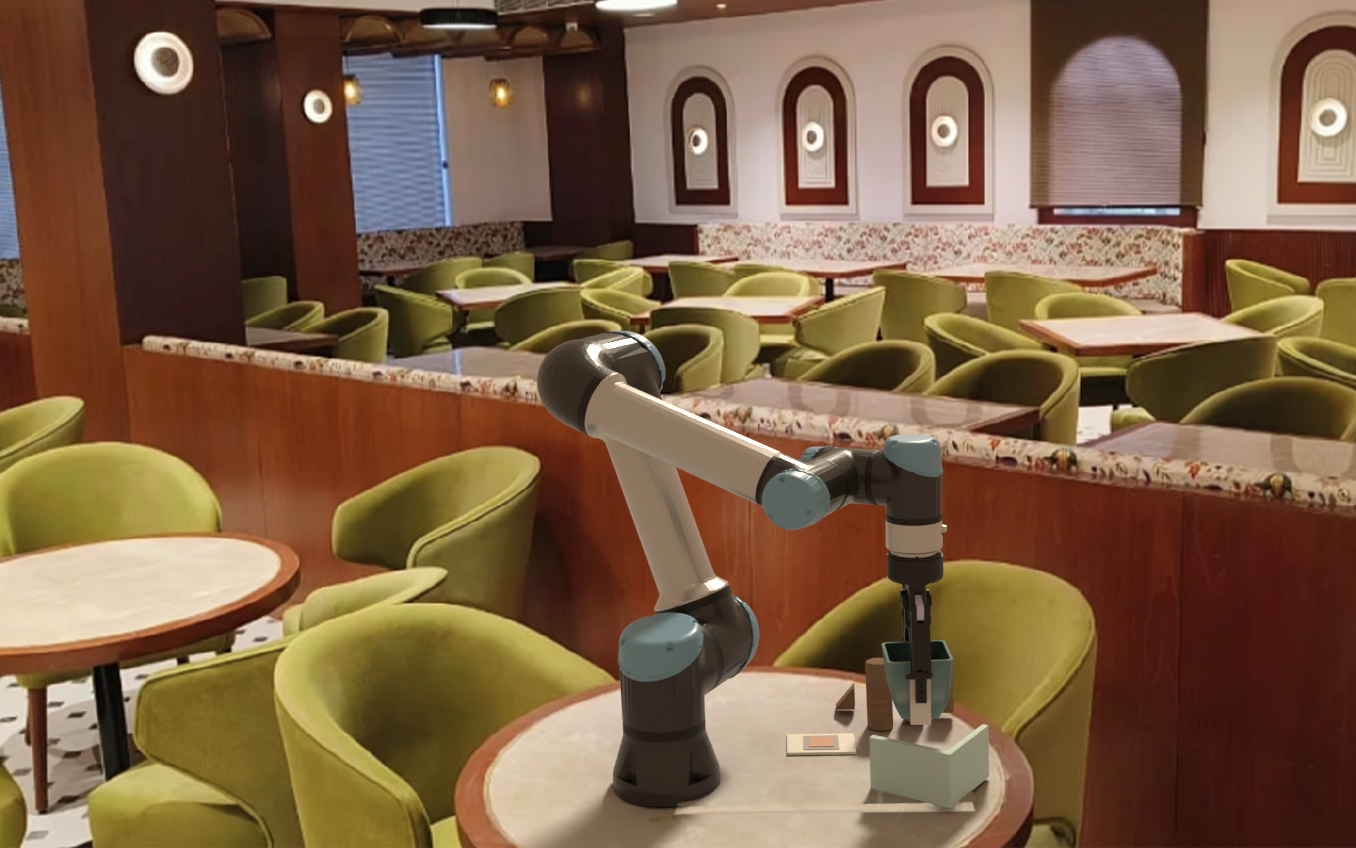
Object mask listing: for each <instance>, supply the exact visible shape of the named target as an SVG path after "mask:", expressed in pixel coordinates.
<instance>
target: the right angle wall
mask: <svg viewBox="0 0 1356 848" xmlns="http://www.w3.org/2000/svg"><path fill="white" fill-rule="evenodd" d="M989 728H990V727H989V725H988V724H986V723H985V724H984V723H983V724H981V725H980V726H978V727H976V728H975V729H974V730H973V731H971V732H970V733H968V735H966V736H965V737H964V738H963V739H961V740H960V741H959V742H957V743H956V744H955V745H953V746H952V747H951V748H949V749H947V750H944V749H941V748H936V747H931V746H928V745H927V746H926V745H922V744H917V743H913V742H909V741H903V740H899V739H895V738H889V737H887V736H886V737H885V736H881V735H876V734H872V735H870V736H869V771H870V772H869V773H870V774H869V775H870V776H869V777H870V780H869V781H870V789H871V790H876V791H879V792H883V793H887V794H892V795H896V796H899V797H904V798H909V799H912V800H916V801H921V802H924V803H927V804H932V805H935V806H938V807H939V806H940V807H942V808H946V809H952V808H953V807H954V806H956V805H957V804H958V803H959V801H961V800H962V799H963V798H964V797H965V796H967V795H968V794H970V793H971V792H972V791H974V790H975V789H976V788H978V786H979V785H981V784H983V782H985V781H986V780H987V779H989V777H990V742H989V741H990V739H989V738H990V733H989V732H990V730H989Z"/></svg>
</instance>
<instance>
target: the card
mask: <svg viewBox="0 0 1356 848" xmlns="http://www.w3.org/2000/svg"><path fill="white" fill-rule="evenodd" d="M855 741H856V740H855V733H853V732H851V733H850V732H849V733H843V732H842V733H798V734H794V733H793V734H790V733H789V734H788V733H786V750H787V751H786V753H787V754H786V755H787V756H819V755H820V756H829V755H838V756H839V755H841V756H842V755H857V747H856V742H855Z"/></svg>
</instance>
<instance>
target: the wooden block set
mask: <svg viewBox="0 0 1356 848" xmlns="http://www.w3.org/2000/svg"><path fill="white" fill-rule="evenodd" d="M864 665H865V666H864V668H865V691H866V692H865V693H866V695H865V696H866V716H867V717H866V718H867V727H868V729H869V728H870V729H869V730H871V731H876V732H884V731H885V732H886V731H889V730H891V729H893V727H894V709H893V708H894V706H893V705H894V704H893V700H892V696H891V692H890V689H889V686H888V683H887V679H886V673H885V666H884V659H883V657H872V658H869V659H868V658H867V660H866V661H865V662H864ZM953 676H954V675H953V673H952V680H951V690H950V696H949V699H948V702H947V705H946V707H945V709H944V711H943V712H942V714H951V713H954V711H955V708H954V707H955V705H954V703H955V702H954V701H955V700H954V699H955V698H954V679H953V678H954V677H953ZM855 689H856V688H855V682H853V683H852V684H851V685H850V686H849V688H847V690H846V691H845V692H844V694H843V695H842V696H841V697H840V698H839V700H837V702H836V703H835V709H834V710H836V711H841V710H845V711H847V710H853V711H854V710H855V708H856V695H855V694H856V693H855ZM903 722H904V723H910V719H903Z"/></svg>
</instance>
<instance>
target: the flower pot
mask: <svg viewBox="0 0 1356 848" xmlns="http://www.w3.org/2000/svg"><path fill="white" fill-rule="evenodd" d="M930 641H931V669H932V673H933V676H932V679H931V719H938V718H940V716H941V715H942V714H943V713H942V712H943V711H944V709H945V707H946V705H947V702H948V699H949V696H950V690H951V680H952V674H953V667H954V665H953V664H954V657H953V655H952V654H951V651H950V649H949V648H948V645H947V642H946V641H945V640H943V639H938V640H937V639H935V640H931V639H930ZM880 644H881V651H882V658H883V659H884V666H885V673H886V679H887V683H888V686H889V689H890V692H891V696H892V704H893V705H894V707H895V709H896V712H897V713H898V715H899V716H900V718H901V719H902V720H904V719H910V680H906V677H905V675H910V673H911V664H910V645H909V642H902V641H887V642H882V643H880ZM925 670H926V669H925Z"/></svg>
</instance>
